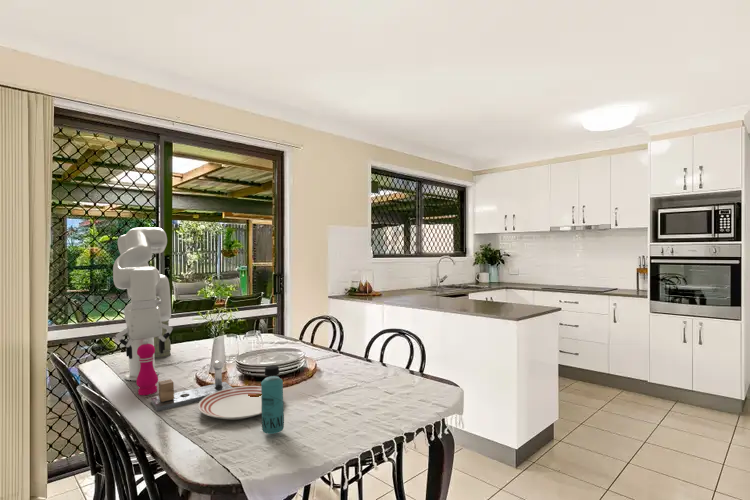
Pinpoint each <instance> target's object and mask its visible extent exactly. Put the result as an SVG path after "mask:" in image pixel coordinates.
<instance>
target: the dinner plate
mask: <svg viewBox="0 0 750 500" xmlns="http://www.w3.org/2000/svg"><path fill="white" fill-rule="evenodd" d="M248 394H261V385H245V386H243V385H242V386H235V387H233V388H229V389H225V390H221V391H218V392H215V393H212V394H210V395H208V396H206V397H205V398H203V399H202V400H201V401H198V402H199V403H198V404H197V408H198V411H199V412H200V413H202V414H203V415H205V416H208V417H211V418H214V419H215V418H216V419H221V420H230V421H231V420H233V421H235V420H243V419H244V420H245V419H249V418H253V417H256V416H260V415H262V412H261V411H262V405H261V404H262V402H261V396H262V395H261V396H259V397H250V396H248Z"/></svg>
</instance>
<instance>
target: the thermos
mask: <svg viewBox="0 0 750 500" xmlns="http://www.w3.org/2000/svg"><path fill="white" fill-rule="evenodd" d="M156 299H157V300H159V298H158V297H156ZM171 300H172V299H171V295H170V301H171ZM171 302H172V301H171ZM169 321H170V319H169V320H167V321H164V322H161V323H162V324H165V325H168V326H170V325H169ZM166 332H167V329H165V328H162V336H163V335H164V334H165V333H166ZM159 341H160V339H159V338H158V337H154V347H155V353H154V359H163V358H167V357H170V356H171V351H172V350H171V349H172V347H171V345H172V344H171V342H172V341H171V339H170V336H169V337H168V338H167V339H166V341H165V350H163V353H162V354H161V353H160V352H159Z"/></svg>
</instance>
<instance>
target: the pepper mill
mask: <svg viewBox="0 0 750 500" xmlns="http://www.w3.org/2000/svg"><path fill="white" fill-rule="evenodd" d="M154 353H155V347H154V346H153V345H152V344H148V340H144V341H143V345H141V346H139V347H138V349H137V355H138V356H139V357H140V358H139V362H140V365H141V366H140V372H139V374H138V377H137V381H136V386H137V387H139V388H138V389H137V391H138V393H137V394H138V396H149V394H150V395H153V394H155V393H156V392H157V391H158V386H157V383H158V382H159V377H158V375H157V374H156V372H155V370H154V368H153V360H154V359H155V358H153V357H154V356H153V354H154Z"/></svg>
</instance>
